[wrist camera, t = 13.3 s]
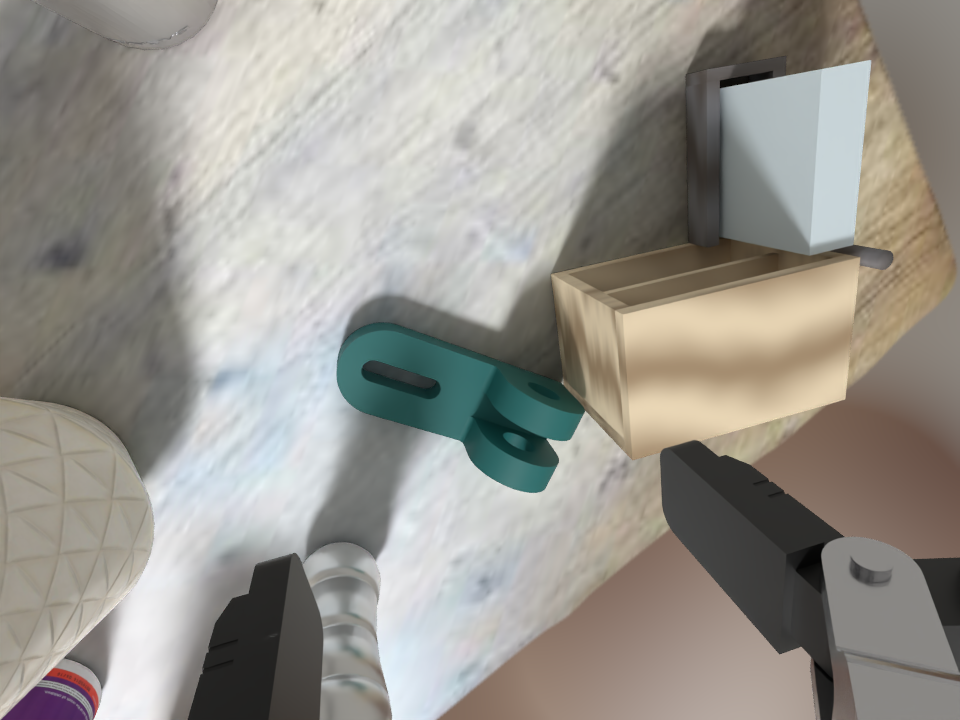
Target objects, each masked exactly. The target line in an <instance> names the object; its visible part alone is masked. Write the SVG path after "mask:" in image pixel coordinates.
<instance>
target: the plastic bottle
mask: <svg viewBox="0 0 960 720" xmlns="http://www.w3.org/2000/svg"><path fill="white" fill-rule="evenodd" d="M303 568H304V571H305V574H306V576H307V579H308V582H309V584H310V587H311V590H312V592H313V595H314V597H315V600H316V603H317V605H318V608H319V611H320V615H321V620H322V626H323V661H322V681H321V701H320V720H392V712H391V706H390V700H389V696H388V691H387V687H386V683H385V680H384V676H383V672H382V668H381V664H380V657H379V650H378V642H377V635H376V626H377V604H378V600H379V593H380V582H381V578H380V573H379V570H378V567H377V564H376V562H375V559H374V558H373V556H372V555H371V554H370V553H369V552H368V551H367V550H365V549H364V548H362V547H360V546H358V545H356V544H353V543H348V542H336V543H331V544H328V545H325V546H323V547H321V548H319V549H318V550H316V551H315V552H314V553H312V554H311V555H310V556H309V557H308V558H307V559H306V561H305V562H304V564H303Z"/></svg>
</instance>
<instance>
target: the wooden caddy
mask: <svg viewBox="0 0 960 720" xmlns="http://www.w3.org/2000/svg"><path fill="white" fill-rule="evenodd" d="M785 74H786V56H782V57H776V58H770V59H765V60H759V61H753V62H747V63H742V64H736V65H730V66H724V67H718V68H713V69H707V70H703V71H699V72H695V73H691V74H687V75H686V113H687V174H688V235H689V243H687V244H682V245H678V246H673V247H669V248H664V249H660V250H655V251H651V252H647V253H642V254H638V255H633V256H629V257H624V258H620V259H615V260H611V261H607V262H602V263H598V264H593V265H589V266H584V267H580V268H575V269H571V270H567V271H562V272H558V273H553V274H551V279H552V288H553V296H554V305H555V313H556V322H557V330H558V339H559V347H560V356H561V364H562V373H563V381H564V386H565V387H566V388H567V390H568V391H569V392H570V393H571V394H572V395H573V396H574V397H575V398H576V399H577V400H578V401H579V402H580V403H581V404H582V406H583V407H584V409H585V411H586V412H587V413H588V414H589V415H590V416H591V417H592V418H593V419H594V420H595V421H596V422H597V423H598V424H599V425H600V426H601V427H602V429H603V430H604V431H605V432H606V433H607V434H608V435H609V436H610V437H611V438H612V439H613V440H614V441H615V442H616V443H617V444H618V445H619V447H620V448H621V449H622V450H623V451H624V452H625V453H626V454H627V455H628V456H629V457H630V458H631V459H632V460H635V459H639V458H642V457H646V456H649V455H653V454H656V453H660V452H661V451H662V450H663V449H664V448H667V447H671V446H674V445H678V444H681V443H685V442H688V441H692V440H697V441H702V440H705V439H709V438H712V437H716V436H719V435H723V434H726V433H730V432H733V431H737V430H740V429H744V428H747V427H750V426H754V425H757V424H761V423H764V422H768V421H771V420H775V419H778V418H782V417H785V416H789V415H792V414H796V413H799V412H803V411H806V410H810V409H813V408H817V407H820V406H824V405H827V404H831V403H834V402H838V401H841V400H845V396H846V386H847V377H848V368H849V358H850V349H851V340H852V330H853V321H854V312H855V302H856V293H857V284H858V274H859V265H861V266H866V267H871V268H875V269H880V270H884V269H887V268H888V267H889V266H890V265H891V263H892V261H893V253H892V252H891V251H887V250H881V249H875V248H869V247H864V246H858V245H851V246H847V247H843V248H839V249H835V250H831V251H827V252H823V253H819V254H814V255H810V256H809V255H804V254H799V253H794V252H789V251H785V250H780V249H775V248H770V247H766V246H761V245H756V244H751V243H746V242H742V241H737V240H732V239H727V238H722V237H719V158H720V81H722V80H728V79H734V78H739V77H745V76H749V83H751V82H756V81H762V80H767V79H772V78H777V77H783V76H785Z"/></svg>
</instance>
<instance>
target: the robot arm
mask: <svg viewBox="0 0 960 720" xmlns="http://www.w3.org/2000/svg"><path fill="white" fill-rule="evenodd" d="M31 1H33V2H35V3H37V4H39V5H41V6H43V7H45V8H47V9H49V10H51V11H53V12H55V13H57V14H59V15H61V16H63V17H65V18H67V19H69V20H71V21H73V22H75V23H76V24H78V25H80V26H82V27H84V28H86V29H88V30H91V31H93V32H95V33H97V34H99V35H101V36H103V37H105V38H107V39H109V40H112V41H114V42H117V43H119V44H122V45H124V46H128V47H133V48H139V49H144V50H147V49H165V48H169V47H172V46H176V45H179V44H181V43H183V42H185V41H187V40H188V39H190V38H192V37H194V36H195V35H196V34H197V33H198V32H199V31H200V30H201V29H202V28H203V27H204V26H205V25H206V23H207V21H208V20H209V18H210V16H211V15H212V13H213V11H214V9H215V6H216V2H217V0H31ZM660 466H661V489H662V507H663V512H664V515H665V518H666V520H667V523H668V525H669V526H670V528H671V530H672V531H673V533H674V534H675V535H676V536H677V537H678V538H679V540H680V541H681V542H682V543H683V544H684V545H685V547H686V548H687V549H688V550H689V551H690V552H691V553H692V555H694V557H695V558H696V559H697V560H698V561H699V562H700V564H701V565H702V566H703V567H704V568H705V569H706V571H707V572H708V573H709V574H710V575H711V576H712V577H713V578H714V580H715V581H716V582H717V583H718V584H719V585H720V587H721V588H722V589H723V590H724V591H725V592H726V594H727V595H728V596H729V597H730V598H731V599H732V600H733V602H734V603H735V604H736V605H737V606H738V607H739V608H740V610H741V611H742V612H743V613H744V614H745V615H746V616H747V618H748V619H749V620H750V621H751V622H752V623H753V625H755V627H756V628H757V629H758V630H759V631H760V633H761V634H762V635H763V636H764V637H765V638H766V639H767V641H768V642H769V643H770V644H771V645H772V646H773V647H774V649H775V650H776V651H777V652H778V653H779V654H782V653H785V652H787V651H790V650H793V649H796V648H799V647H802V648H803V649H804V650H805V651H806V652H807V653H808V654H809V655H810V656H811V662H810V672H811V681H812V690H813V699H814V707H815V716H816V720H960V558H938V559H937V558H936V559H911V558H910V557H909V556H908V555H906V554H905V553H904V552H902V551H900V550H898V549H897V548H895V547H893V546H890V545H888V544H886V543H883V542H880V541H877V540H873V539H868V538H863V537H844V536H843V535H841V534H840V533H839V532H838V531H836V530H835V529H834V528H832V527H831V526H829V525H828V524H827V523H826V522H824V521H823V520H822V519H820V518H819V517H818V516H817V515H815V514H814V513H812V512H811V511H810V510H809V509H807V508H806V507H805V506H803V505H802V504H801V503H799V502H798V501H797V500H795V499H794V498H793V497H791V496H790V495H789V494H785V493H784V490H782V489H781V488H779V487H778V486H777V485H776V484H774V483H773V482H769V480H768V478H767V477H765V476H764V475H763V474H761V473H760V472H759V471H757V470H756V469H755V468H753V467H752V466H751V465H749V464H747V463H744V462H742V461H739V460H737V459H734V458H732V457H729V456H727V455H724V456H721V457H718V456H717V455H716V454H715V453H713V452H712V451H711V450H710V449H708V448H707V447H706V446H705V445H703V444H702V443H701V442H699V441H697V440H692V441H688V442H685V443H681V444H678V445H674V446H671V447H667V448H664V449H663V450H662V451H661V454H660ZM208 649H209V653H207V654H206V657H205V661H204V664H203V668H202V670H203V674H201V675H200V678H199V682H198V685H197V689H196V692H195V696H194V700H193V703H192V707H191V710H190V714H189V717H188V720H320V701H321V681H322V661H323V626H322V620H321V615H320V611H319V608H318V605H317V603H316V600H315V597H314V595H313V592H312V590H311V587H310V584H309V582H308V579H307V576H306V574H305V571H304V568H303V566H302V563H301V561H300V558H299V557H298V555H297V554H296V553H293V554H289V555H286V556H282V557H279V558H275V559H272V560H268V561H265V562H261V563H258V564H257V565H256V566H255V569H254V572H253V577H252V581H251V586H250V590H249V594H246V595H242V596H239V597H236V598H232V600H231V601H230V603H229V604H228V606H227V607H226V608H225V610H224V611H223V613H222V614H221V616H220V617H219V618H218V620H217V621H216V623H215V626H214V629H213V633H212V636H211V640H210V643H209V647H208Z"/></svg>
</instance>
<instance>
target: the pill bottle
mask: <svg viewBox="0 0 960 720" xmlns="http://www.w3.org/2000/svg"><path fill="white" fill-rule="evenodd" d="M101 697H102V690H101V685H100V682H99V680H98V679H97V677H96V676H95V674H94V673H93V672H92V671H91V670H90V669H89V668H87V667H85V666H84V665H82V664H80V663H77V662H75V661H72V660H68V659H62V660H61V661H60V662H59V663H58V664H57V665H56V666H55V667H54V668H53V669H52V670H51V671H50V672H49V673H48V674H47V675H46V676H45V677H44V678H43V679H42V680H41V681H40V682H39V683H38V684H37V685H36V686H35V687H34V688H32V689H31V690H30V691H29V692H28V693H27V694H26V695H25V696H24V697H23V698H22V699H21V700H20V701H19V702H18V703H17V704H16V705H15V706H14V707H13V708H12V709H11V710H10V711H9V712H8V713H7V714H6V715H5V716H4V717H3V718H2V719H1V720H93V719H94V717H95V715H96V712H97V710H98V708H99V705H100V702H101Z"/></svg>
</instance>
